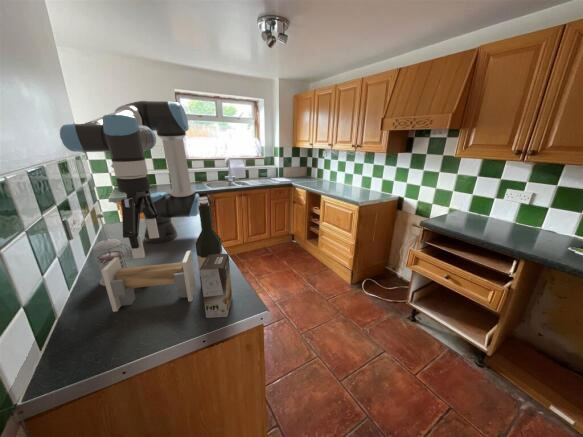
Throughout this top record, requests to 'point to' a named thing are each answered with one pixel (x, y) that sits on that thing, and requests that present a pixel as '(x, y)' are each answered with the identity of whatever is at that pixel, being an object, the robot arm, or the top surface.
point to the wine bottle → (206, 237)
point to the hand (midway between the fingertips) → (147, 246)
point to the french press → (109, 255)
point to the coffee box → (216, 285)
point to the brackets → (127, 296)
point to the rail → (149, 275)
